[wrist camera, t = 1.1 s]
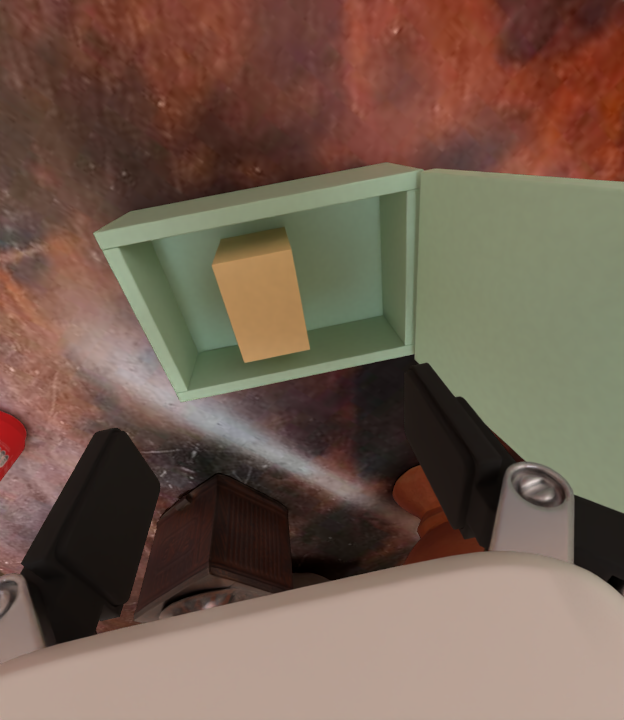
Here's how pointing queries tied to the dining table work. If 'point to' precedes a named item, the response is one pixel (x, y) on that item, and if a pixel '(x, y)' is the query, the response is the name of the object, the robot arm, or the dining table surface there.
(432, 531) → the goblet
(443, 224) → the lunchbox lid
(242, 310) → the tan wooden block
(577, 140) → the dining table surface
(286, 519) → the manual coffee grinder
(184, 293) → the lunchbox
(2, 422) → the beverage can
